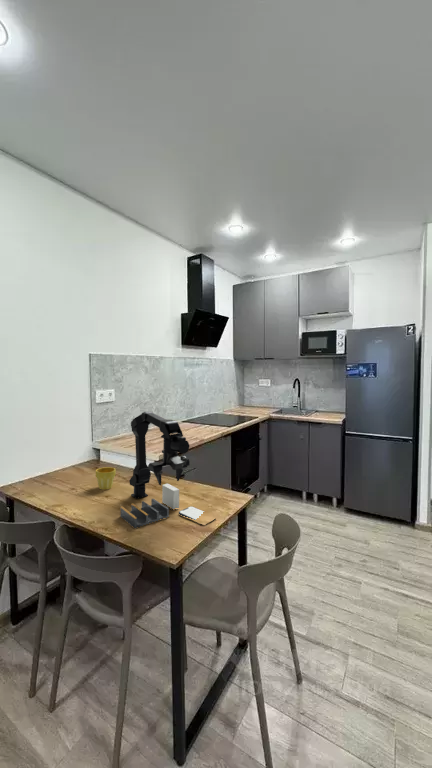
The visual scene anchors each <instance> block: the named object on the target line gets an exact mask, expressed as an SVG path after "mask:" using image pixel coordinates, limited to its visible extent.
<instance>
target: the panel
mask: <svg viewBox="0 0 432 768" xmlns="http://www.w3.org/2000/svg"><path fill="white" fill-rule="evenodd" d="M161 486H162V488H161V489H162V490H161V491H162V493H161V495H162V497H161V499H162V501H161V504H163V503H164V504H166V505H167V506H166V505H165V506H166V507H168V506H169V507H171V508H172V509H175V508H179V509H180V489H179V488H177V487H176V486H174V485H171V484H170V483H165V484H161ZM164 504H163V505H164ZM169 507H168V508H169ZM171 508H170V509H171ZM172 509H171V510H172Z"/></svg>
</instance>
